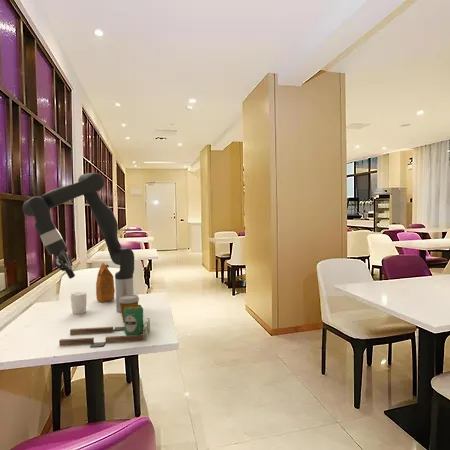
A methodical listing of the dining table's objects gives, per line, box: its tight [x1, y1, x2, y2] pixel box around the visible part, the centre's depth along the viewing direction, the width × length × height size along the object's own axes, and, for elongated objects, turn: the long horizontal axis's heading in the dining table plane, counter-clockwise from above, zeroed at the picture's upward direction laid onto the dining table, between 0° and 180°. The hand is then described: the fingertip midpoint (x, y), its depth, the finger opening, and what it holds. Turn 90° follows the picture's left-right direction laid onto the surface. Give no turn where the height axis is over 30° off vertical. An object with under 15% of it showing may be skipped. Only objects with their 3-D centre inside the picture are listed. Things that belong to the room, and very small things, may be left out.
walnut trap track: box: [58, 317, 151, 348], centre depth 152 cm, size 22×34×5 cm, turn 95°
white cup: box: [69, 291, 87, 315], centre depth 190 cm, size 8×8×10 cm
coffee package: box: [95, 262, 116, 303], centre depth 214 cm, size 10×12×22 cm
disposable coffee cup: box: [119, 294, 140, 324], centre depth 171 cm, size 10×10×12 cm
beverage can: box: [123, 304, 145, 336], centre depth 154 cm, size 8×8×12 cm
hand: (72, 277), depth 155 cm, fingers closed
